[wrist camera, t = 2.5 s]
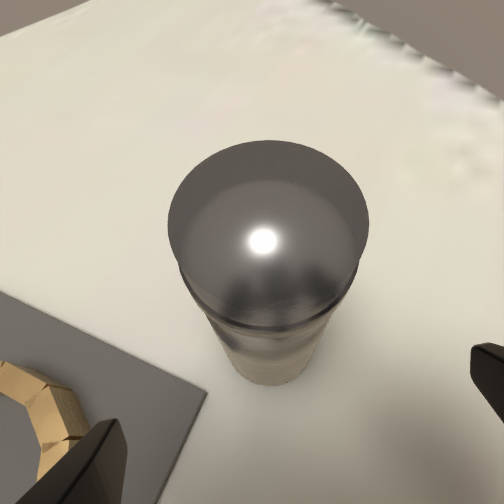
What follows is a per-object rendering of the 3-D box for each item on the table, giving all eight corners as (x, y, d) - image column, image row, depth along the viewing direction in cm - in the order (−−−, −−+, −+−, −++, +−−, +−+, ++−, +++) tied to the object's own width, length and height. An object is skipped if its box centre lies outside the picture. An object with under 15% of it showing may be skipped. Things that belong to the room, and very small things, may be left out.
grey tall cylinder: (325, 317, 21) (395, 168, 9) (295, 404, 18) (335, 351, 7) (246, 286, 22) (220, 119, 10) (209, 364, 20) (123, 263, 8)
